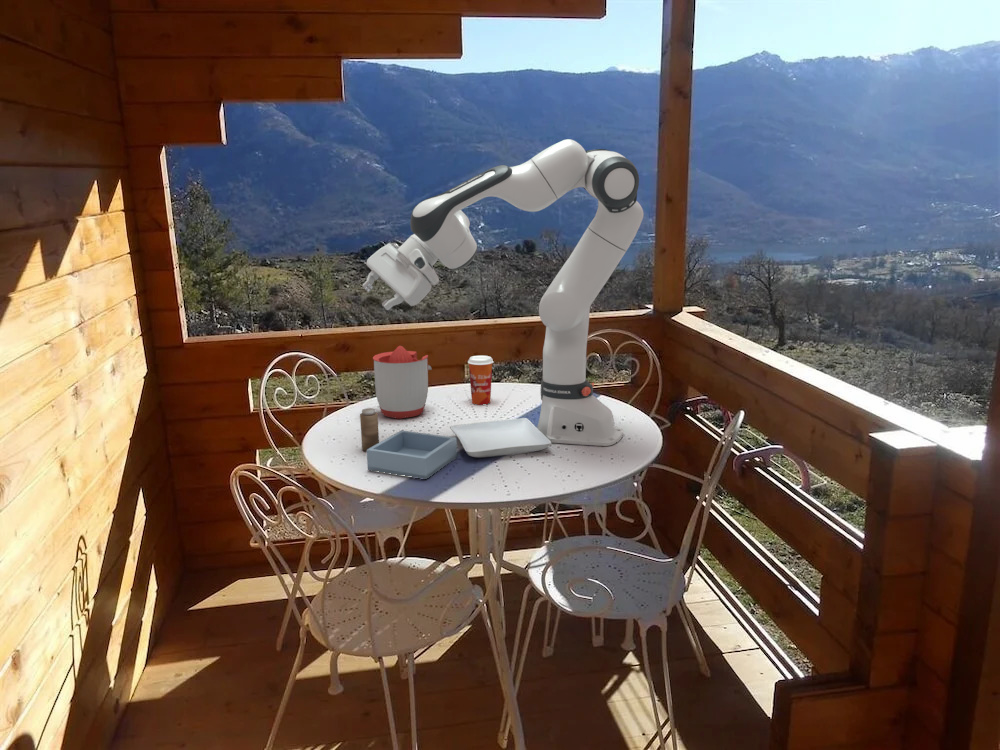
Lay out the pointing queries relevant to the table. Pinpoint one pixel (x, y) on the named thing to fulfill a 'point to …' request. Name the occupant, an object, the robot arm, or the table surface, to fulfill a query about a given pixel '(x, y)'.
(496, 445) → the salad plate
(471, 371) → the paper cup
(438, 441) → the slate blue bin
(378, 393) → the citrus juicer
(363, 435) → the walnut pepper mill
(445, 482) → the table surface
